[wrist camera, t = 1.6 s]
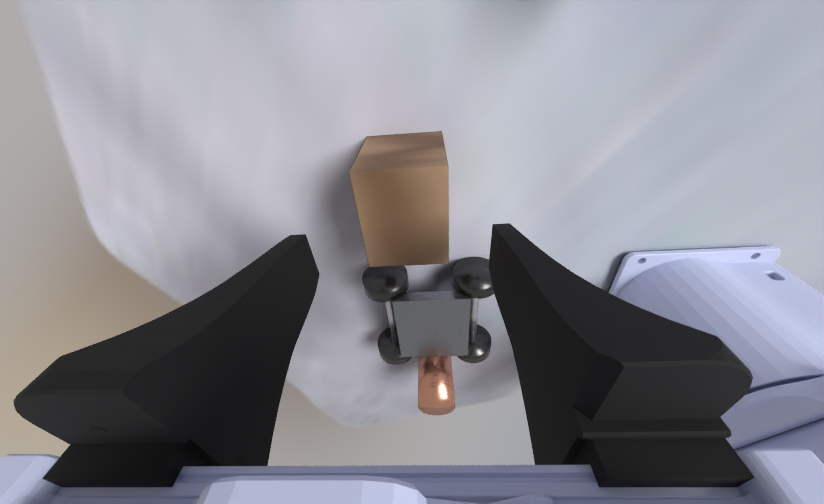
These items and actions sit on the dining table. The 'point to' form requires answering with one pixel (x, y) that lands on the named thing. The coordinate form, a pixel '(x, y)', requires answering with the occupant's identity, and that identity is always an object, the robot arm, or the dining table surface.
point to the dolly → (432, 313)
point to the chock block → (403, 199)
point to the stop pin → (435, 385)
